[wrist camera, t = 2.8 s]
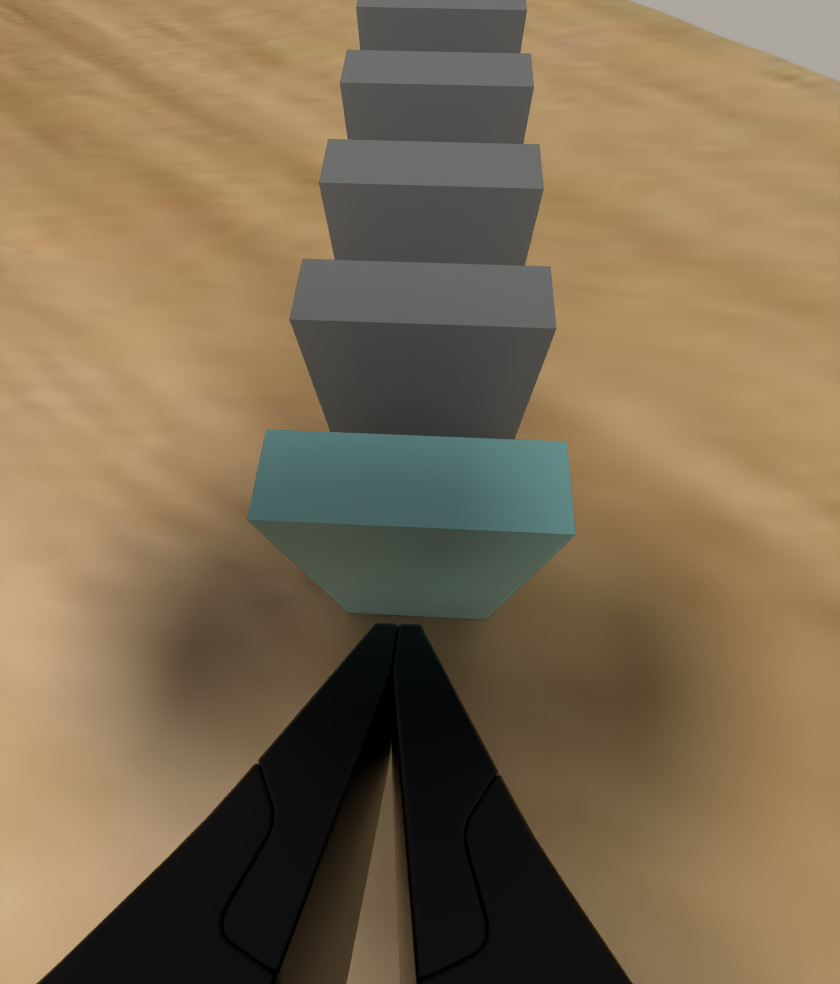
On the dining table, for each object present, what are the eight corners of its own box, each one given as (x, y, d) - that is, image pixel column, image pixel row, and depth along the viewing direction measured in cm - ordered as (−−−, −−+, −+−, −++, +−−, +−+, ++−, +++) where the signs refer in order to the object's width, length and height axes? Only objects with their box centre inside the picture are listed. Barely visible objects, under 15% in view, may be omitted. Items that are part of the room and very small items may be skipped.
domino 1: (483, 288, 22) (526, 9, 13) (383, 285, 22) (356, 7, 13) (483, 265, 23) (524, -17, 14) (385, 262, 23) (361, -19, 14)
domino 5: (486, 619, 16) (576, 534, 7) (347, 612, 16) (247, 519, 7) (486, 575, 17) (566, 441, 7) (352, 568, 17) (266, 429, 7)
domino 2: (483, 352, 21) (533, 86, 11) (376, 348, 21) (339, 82, 12) (483, 325, 21) (530, 53, 12) (379, 322, 21) (346, 49, 12)
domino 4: (485, 514, 17) (556, 328, 8) (358, 508, 18) (289, 319, 8) (485, 477, 18) (550, 266, 9) (362, 472, 18) (302, 258, 9)
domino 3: (484, 427, 19) (543, 189, 10) (368, 422, 19) (318, 182, 10) (484, 395, 20) (539, 144, 10) (371, 391, 20) (328, 139, 11)
